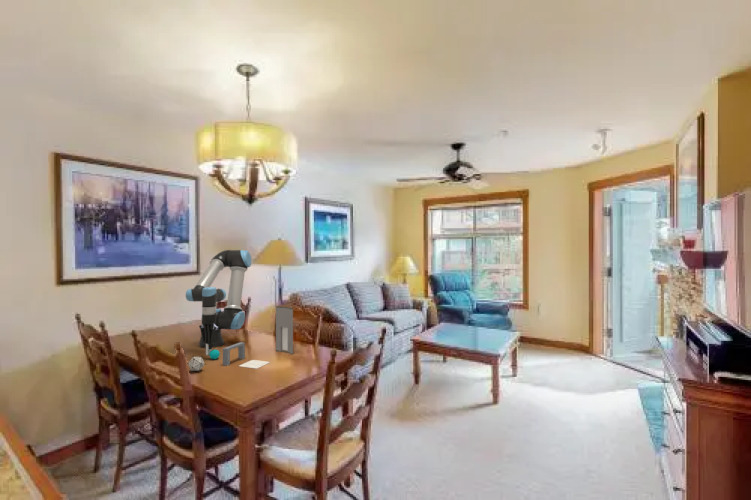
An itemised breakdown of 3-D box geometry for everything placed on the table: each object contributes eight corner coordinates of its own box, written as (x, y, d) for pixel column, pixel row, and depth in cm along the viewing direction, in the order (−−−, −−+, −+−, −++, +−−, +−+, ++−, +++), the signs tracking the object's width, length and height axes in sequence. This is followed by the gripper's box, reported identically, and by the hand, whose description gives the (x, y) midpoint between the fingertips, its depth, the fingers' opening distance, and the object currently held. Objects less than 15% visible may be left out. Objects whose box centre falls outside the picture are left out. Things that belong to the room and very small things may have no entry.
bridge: (222, 365, 211) (222, 348, 211) (240, 357, 225) (240, 342, 225) (227, 365, 210) (227, 348, 210) (244, 358, 224) (244, 342, 224)
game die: (196, 379, 199) (190, 368, 193) (187, 371, 204) (180, 359, 197) (211, 367, 205) (205, 356, 199) (202, 359, 209) (196, 348, 203)
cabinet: (292, 354, 233) (292, 308, 232) (276, 355, 230) (276, 308, 230) (290, 345, 253) (290, 303, 252) (275, 346, 250) (275, 303, 250)
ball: (205, 356, 221) (209, 349, 220) (213, 353, 226) (216, 346, 225) (212, 362, 220) (216, 355, 218) (219, 359, 225) (223, 352, 224)
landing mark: (238, 366, 209) (238, 365, 209) (252, 360, 221) (252, 359, 221) (256, 368, 205) (256, 368, 205) (270, 362, 216) (270, 361, 216)
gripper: (195, 314, 222) (195, 354, 222) (212, 315, 217) (212, 357, 217) (205, 312, 229) (205, 351, 229) (222, 313, 224) (222, 354, 224)
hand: (208, 354), depth 223 cm, fingers closed
